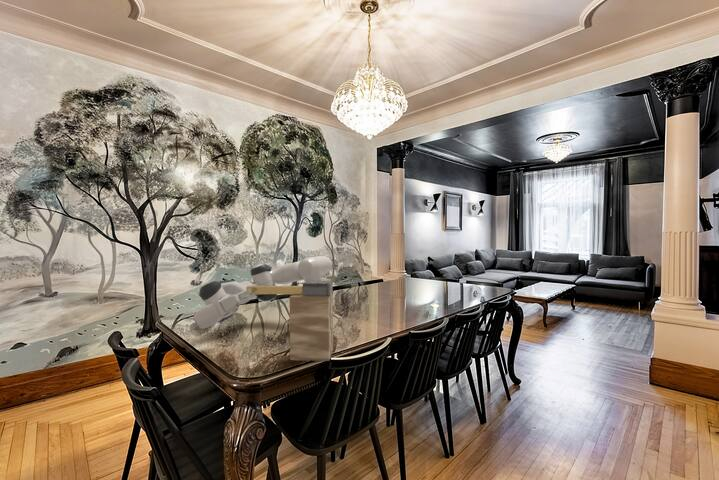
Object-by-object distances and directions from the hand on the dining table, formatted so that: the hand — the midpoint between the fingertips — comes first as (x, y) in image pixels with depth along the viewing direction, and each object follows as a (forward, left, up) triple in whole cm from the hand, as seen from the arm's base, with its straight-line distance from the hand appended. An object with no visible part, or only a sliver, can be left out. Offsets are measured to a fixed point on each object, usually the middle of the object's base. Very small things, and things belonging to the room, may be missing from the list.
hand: (255, 288), depth 138 cm
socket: (0, +27, -2) cm, 27 cm away
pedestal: (0, +25, -28) cm, 38 cm away
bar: (0, +9, -2) cm, 9 cm away
